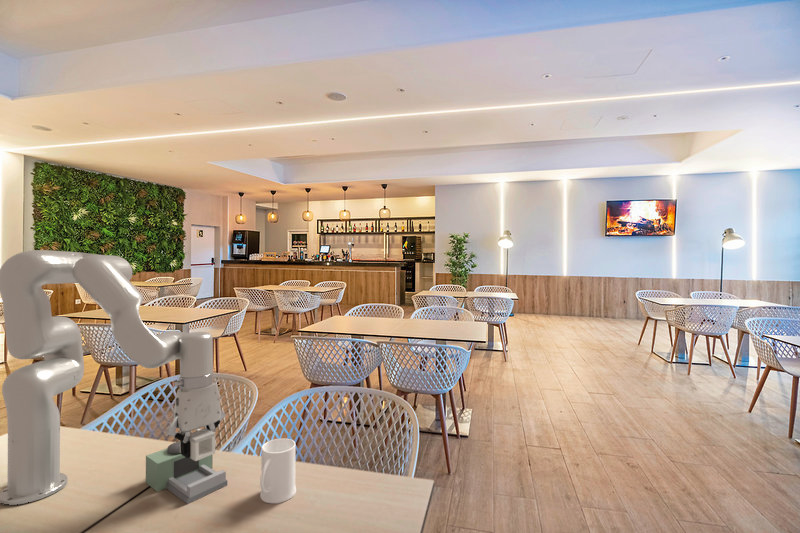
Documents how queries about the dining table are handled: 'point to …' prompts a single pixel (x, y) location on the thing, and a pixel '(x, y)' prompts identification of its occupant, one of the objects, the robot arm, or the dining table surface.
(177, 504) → the dining table surface
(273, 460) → the mug
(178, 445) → the toy coffee machine
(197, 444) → the white box on legs
